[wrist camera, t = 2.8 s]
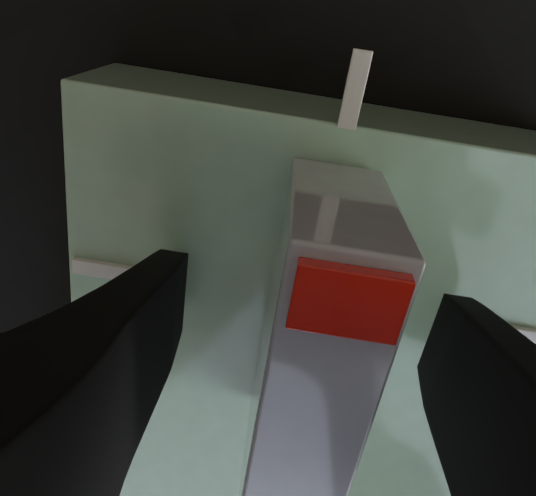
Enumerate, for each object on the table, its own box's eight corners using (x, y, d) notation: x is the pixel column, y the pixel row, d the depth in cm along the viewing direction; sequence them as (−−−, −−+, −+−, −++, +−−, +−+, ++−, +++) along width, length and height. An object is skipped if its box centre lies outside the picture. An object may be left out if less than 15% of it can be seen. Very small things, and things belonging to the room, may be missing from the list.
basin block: (409, 481, 18) (429, 571, 15) (113, 436, 18) (78, 518, 15) (578, 76, 11) (670, 99, 8) (113, 0, 11) (51, -2, 8)
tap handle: (319, 411, 12) (327, 576, 9) (250, 400, 12) (230, 562, 9) (382, 170, 9) (434, 270, 6) (292, 155, 9) (288, 248, 6)
